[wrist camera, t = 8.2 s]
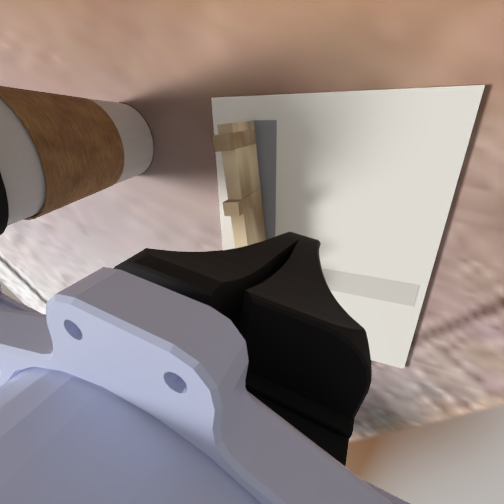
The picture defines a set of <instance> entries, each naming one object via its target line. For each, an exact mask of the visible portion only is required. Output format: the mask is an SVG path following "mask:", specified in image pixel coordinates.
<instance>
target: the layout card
mask: <svg viewBox="0 0 504 504" xmlns="http://www.w3.org/2000/svg"><path fill="white" fill-rule="evenodd" d="M484 87H485V85H472V86H451V87H429V88H408V89H386V90H365V91H343V92H322V93H300V94H279V95H257V96H236V97H214V98H211V100H212V114H213V127H214V135H218V128H217V125H220V124H227V123H236V122H246V121H254V128H255V131H256V141H257V143H256V147H257V157H258V167H259V177H260V187H261V191H262V207H263V217H264V227H265V237H266V240H267V239H270V238H273V237H276V236H278V235H281V234H284V233H287V232H293V233H297V234H300V235H303V236H307V237H310V238H313V239H317V240H319V241H320V243H321V244H320V248H319V257H320V263H321V268H322V271H323V275H324V278H325V280H326V283H327V285H328V287H329V289H330V291H331V293H332V294H333V296H334V297H335V299H336V300H337V302H338V303H339V304H340V305H341V307H342V308H343V309H344V310H345V311H346V312H347V313H348V314H349V315H350V316H351V317H352V318H353V319H354V320H355V321H356V322H357V323H359V324H360V325H361V326H362V327H363V328H364V329H365V330H366V334H367V338H368V343H369V349H370V357H371V360H373V361H376V362H380V363H384V364H387V365H391V366H395V367H399V368H402V369H404V367H405V363H406V360H407V356H408V353H409V349H410V346H411V342H412V339H413V335H414V332H415V328H416V325H417V321H418V318H419V314H420V311H421V307H422V304H423V300H424V297H425V293H426V290H427V286H428V283H429V279H430V276H431V272H432V269H433V265H434V262H435V258H436V255H437V251H438V248H439V244H440V241H441V237H442V234H443V230H444V227H445V223H446V220H447V216H448V213H449V209H450V206H451V202H452V199H453V195H454V192H455V188H456V185H457V181H458V178H459V174H460V171H461V167H462V164H463V160H464V157H465V153H466V150H467V146H468V143H469V139H470V136H471V132H472V129H473V125H474V122H475V118H476V115H477V111H478V108H479V104H480V101H481V97H482V94H483V90H484ZM215 153H216V166H217V179H218V193H219V206H220V219H221V232H222V245H223V250H228V249H234V248H235V243H234V236H233V229H232V222H231V216H224V209H223V203H222V202H224V201H226V200H228V195H227V189H226V182H225V175H224V168H223V162H222V155H221V151H219V152H215Z"/></svg>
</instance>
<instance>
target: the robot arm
mask: <svg viewBox="0 0 504 504" xmlns="http://www.w3.org/2000/svg"><path fill="white" fill-rule="evenodd" d="M320 244H321V243H320V241H319V240H317V239H313V238H310V237H307V236H303V235H300V234H297V233H293V232H287V233H284V234H281V235H278V236H276V237H273V238H270V239H267V240H265V241H262V242H258V243H255V244H251V245H248V246H244V247H240V248H234V249H228V250H221V251H208V252H177V251H166V250H156V249H148V248H146V249H144V250H143V251H141V252H139V253H138V254H136V255H134V256H132V257H131V258H129V259H127V260H126V261H124V262H122V263H121V264H119V265H117V266H115V268H114V269H113V268H105V267H103V268H101V269H99V270H98V271H96V272H94V273H92V274H91V275H89V276H87V277H85V278H83V279H82V280H80V281H78V282H76V283H75V284H73V285H71V286H69V287H68V288H66V289H64V290H62V291H60V292H59V293H57V294H56V295H54V296H53V297H52V298H51V299H50V300H49V301H47V305H46V315H44V314H41V313H39V312H37V311H36V310H34V309H32V308H30V307H28V306H26V305H24V304H22V303H20V302H18V301H16V300H14V299H12V298H10V297H8V296H6V295H5V294H3V293H2V289H1V285H0V504H409V503H408V502H406V501H403V500H402V499H400V498H398V497H396V496H394V495H392V494H390V493H388V492H386V491H384V490H382V489H380V488H378V487H377V486H375V485H373V484H371V483H369V482H367V481H365V480H363V479H361V478H359V477H358V476H357V475H355V474H354V473H353V472H352V471H350V470H349V469H348V468H346V467H345V464H346V457H347V448H348V441H349V438H350V437H351V435H352V431H353V424H354V417H355V415H356V413H357V412H358V410H359V408H360V406H361V404H362V402H363V400H364V398H365V397H366V395H367V393H368V390H369V387H370V383H371V374H372V372H371V357H370V349H369V343H368V338H367V334H366V330H365V329H364V328H363V327H362V326H361V325H360V324H359V323H357V322H356V321H355V320H354V319H353V318H352V317H351V316H350V315H349V314H348V313H347V312H346V311H345V310H344V309H343V308H342V307H341V305H340V304H339V303H338V302H337V300H336V299H335V297H334V296H333V294H332V293H331V291H330V289H329V287H328V285H327V283H326V280H325V278H324V275H323V271H322V268H321V263H320V257H319V248H320Z"/></svg>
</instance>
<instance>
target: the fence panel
mask: <svg viewBox="0 0 504 504" xmlns="http://www.w3.org/2000/svg"><path fill="white" fill-rule="evenodd" d="M217 128H218V135H213V136H212V139H213V146H214V152H219V151H221V155H222V162H223V168H224V175H225V182H226V189H227V195H228V200H226V201H224V202H222V203H223V209H224V216H231V222H232V229H233V236H234V243H235V248H240V247H244V246H248V245H251V244H255V243H258V242H262V241H265V240H266V237H265V227H264V217H263V207H262V191H261V187H260V177H259V167H258V157H257V147H256V143H257V141H256V131H255V128H254V121H246V122H236V123H227V124H220V125H217Z"/></svg>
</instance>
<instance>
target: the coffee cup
mask: <svg viewBox="0 0 504 504" xmlns="http://www.w3.org/2000/svg"><path fill="white" fill-rule="evenodd" d="M153 151H154V148H153V139H152V135H151V132H150V129H149V127H148V125H147V123H146V121H145V120H144V119H143V117H142V116H141V115H140V114H139V113H138V112H137V111H136V110H135V109H134V108H132V107H131V106H129V105H126V104H123V103H117V102H109V101H100V100H91V99H86V98H80V97H73V96H66V95H59V94H52V93H45V92H38V91H31V90H24V89H17V88H10V87H3V86H0V235H1V234H2V233H3V232H4V230H5V229H6V227H7V225H10V224H12V223H15V222H18V221H20V220H23V219H24V220H31V219H35V218H37V217H40V216H42V215H44V214H47V213H49V212H51V211H54V210H56V209H58V208H61V207H63V206H65V205H68V204H70V203H72V202H75V201H77V200H80V199H82V198H84V197H87V196H89V195H91V194H94V193H96V192H98V191H101V190H103V189H105V188H108V187H110V186H112V185H114V184H116V183H119V182H121V181H124V180H127V179H129V178H132V177H134V176H137V175H139V174H141V173H143V172H144V171H146V170H147V168H148V167H149V166H150V164H151V162H152V158H153Z"/></svg>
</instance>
